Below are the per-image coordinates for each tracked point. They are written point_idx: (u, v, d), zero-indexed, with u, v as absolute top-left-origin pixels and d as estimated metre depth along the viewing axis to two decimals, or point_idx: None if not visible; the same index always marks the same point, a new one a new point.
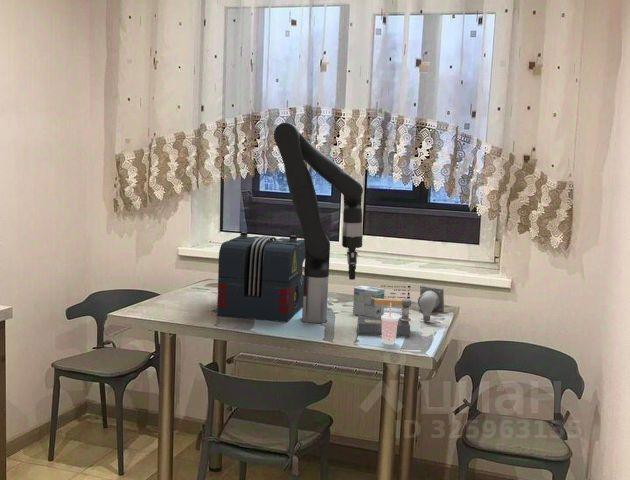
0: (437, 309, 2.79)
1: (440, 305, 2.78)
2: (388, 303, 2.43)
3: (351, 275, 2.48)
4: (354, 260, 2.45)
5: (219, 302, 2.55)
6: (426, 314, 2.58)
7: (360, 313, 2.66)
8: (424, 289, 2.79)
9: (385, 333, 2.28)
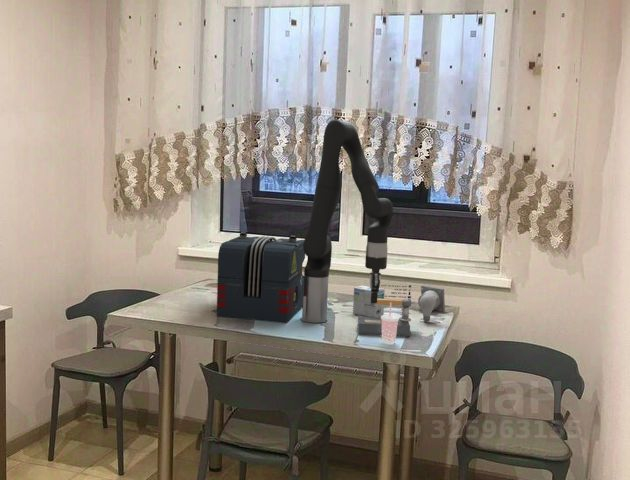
0: (438, 309, 2.79)
1: (441, 305, 2.78)
2: (388, 303, 2.43)
3: (373, 299, 2.38)
4: (377, 287, 2.34)
5: (218, 303, 2.54)
6: (426, 314, 2.58)
7: (360, 313, 2.66)
8: (425, 289, 2.80)
9: (385, 333, 2.28)
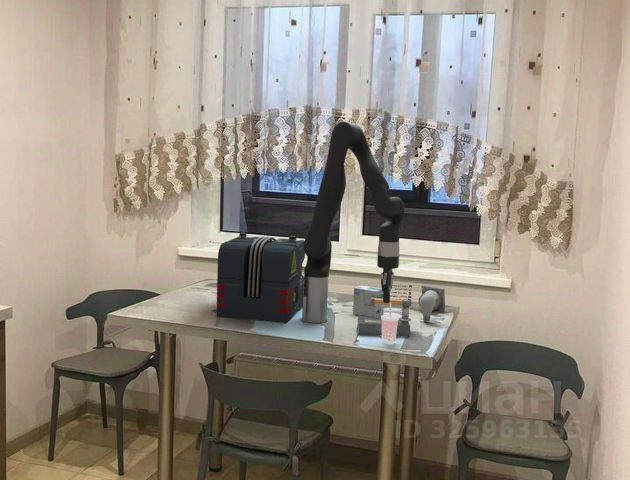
0: (438, 309, 2.79)
1: (441, 305, 2.78)
2: (388, 303, 2.43)
3: (385, 298, 2.37)
4: (386, 286, 2.33)
5: (218, 303, 2.53)
6: (426, 314, 2.58)
7: (360, 313, 2.66)
8: (425, 289, 2.80)
9: (385, 333, 2.28)
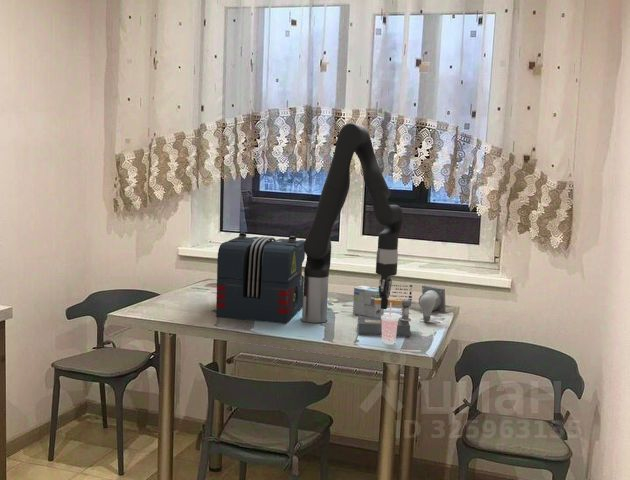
0: (439, 309, 2.79)
1: (441, 305, 2.78)
2: (388, 303, 2.43)
3: (382, 304, 2.40)
4: (384, 293, 2.36)
5: (218, 303, 2.53)
6: (426, 314, 2.58)
7: (360, 313, 2.66)
8: (426, 289, 2.80)
9: (385, 333, 2.28)
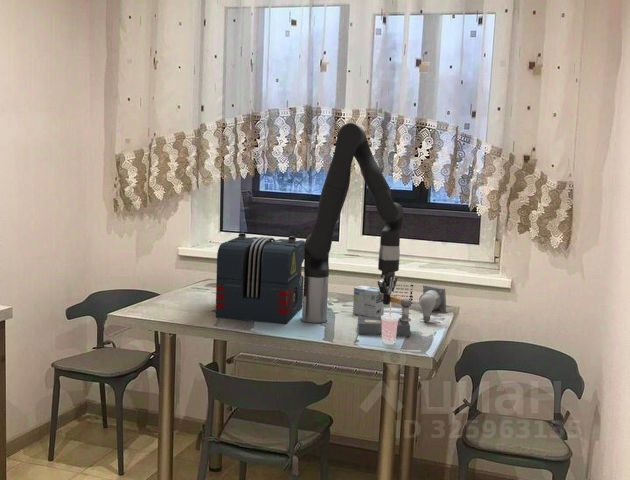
0: (439, 309, 2.79)
1: (442, 305, 2.78)
2: (391, 300, 2.48)
3: (384, 300, 2.46)
4: (383, 288, 2.42)
5: (217, 304, 2.52)
6: (426, 314, 2.58)
7: (360, 313, 2.66)
8: (427, 288, 2.81)
9: (385, 333, 2.28)
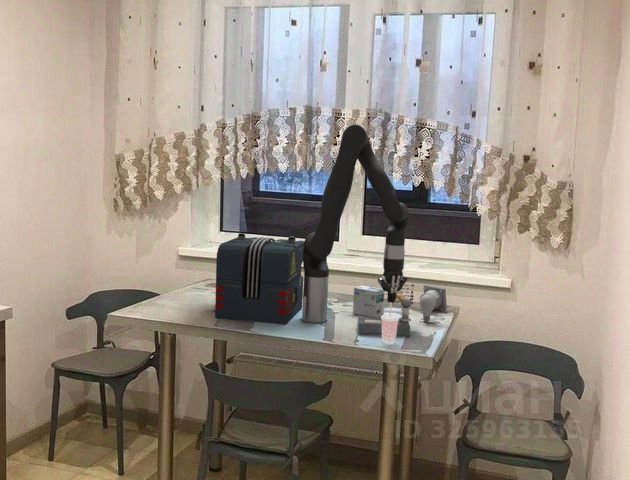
0: (440, 309, 2.80)
1: (442, 305, 2.78)
2: (399, 299, 2.50)
3: (388, 298, 2.50)
4: (383, 286, 2.47)
5: (217, 304, 2.51)
6: (426, 314, 2.58)
7: (360, 313, 2.66)
8: (427, 288, 2.81)
9: (385, 333, 2.28)
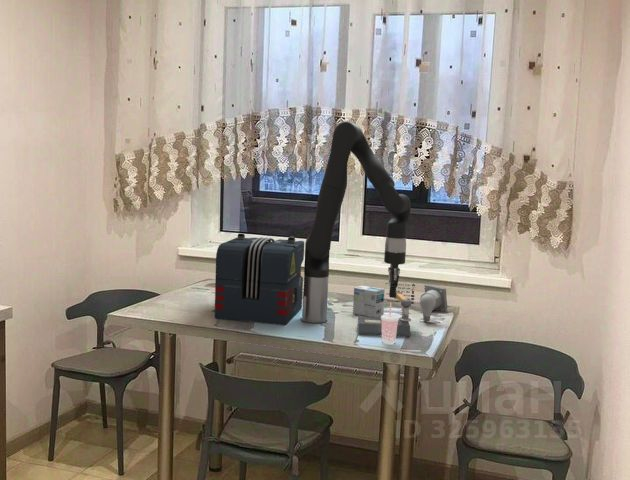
0: (440, 309, 2.80)
1: (443, 305, 2.78)
2: (399, 299, 2.50)
3: (392, 293, 2.42)
4: (396, 282, 2.38)
5: (216, 305, 2.51)
6: (426, 314, 2.58)
7: (360, 313, 2.66)
8: (428, 288, 2.81)
9: (385, 333, 2.28)
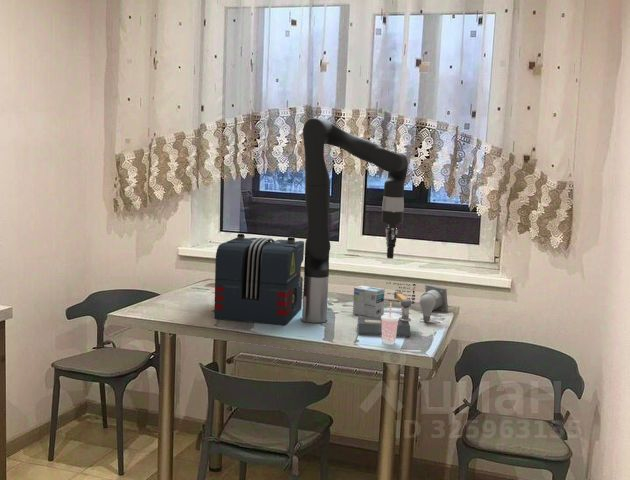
0: (441, 309, 2.80)
1: (443, 305, 2.78)
2: (399, 299, 2.50)
3: (389, 254, 2.38)
4: (394, 241, 2.34)
5: (216, 305, 2.50)
6: (426, 314, 2.58)
7: (360, 313, 2.66)
8: (429, 288, 2.82)
9: (385, 333, 2.28)
